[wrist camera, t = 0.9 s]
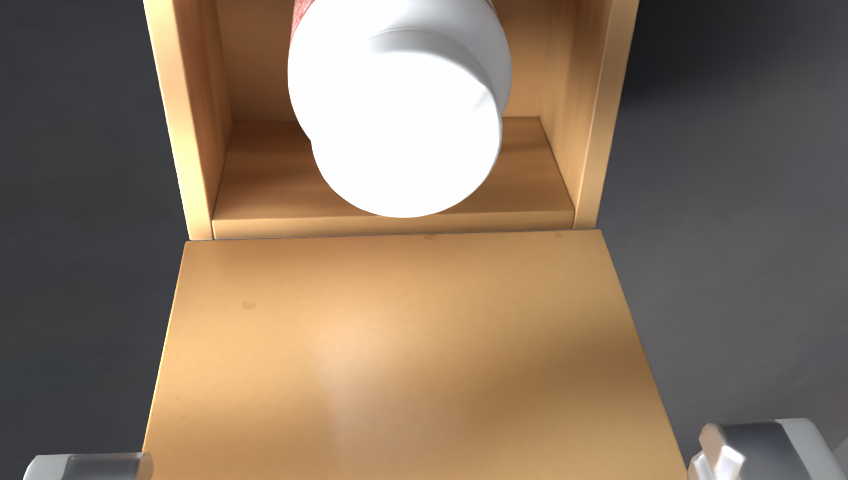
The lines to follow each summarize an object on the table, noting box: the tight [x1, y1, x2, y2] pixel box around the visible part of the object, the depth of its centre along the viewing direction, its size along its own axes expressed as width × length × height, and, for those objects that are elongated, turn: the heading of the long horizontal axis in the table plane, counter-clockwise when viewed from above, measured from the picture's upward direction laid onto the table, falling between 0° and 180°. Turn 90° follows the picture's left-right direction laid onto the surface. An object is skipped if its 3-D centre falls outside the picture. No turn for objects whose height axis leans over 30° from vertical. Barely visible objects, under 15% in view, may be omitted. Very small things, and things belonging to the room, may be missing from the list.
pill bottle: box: [288, 0, 512, 217], centre depth 24 cm, size 6×6×11 cm
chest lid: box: [142, 229, 687, 480], centre depth 23 cm, size 13×14×4 cm
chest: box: [143, 0, 639, 240], centre depth 26 cm, size 13×14×7 cm
